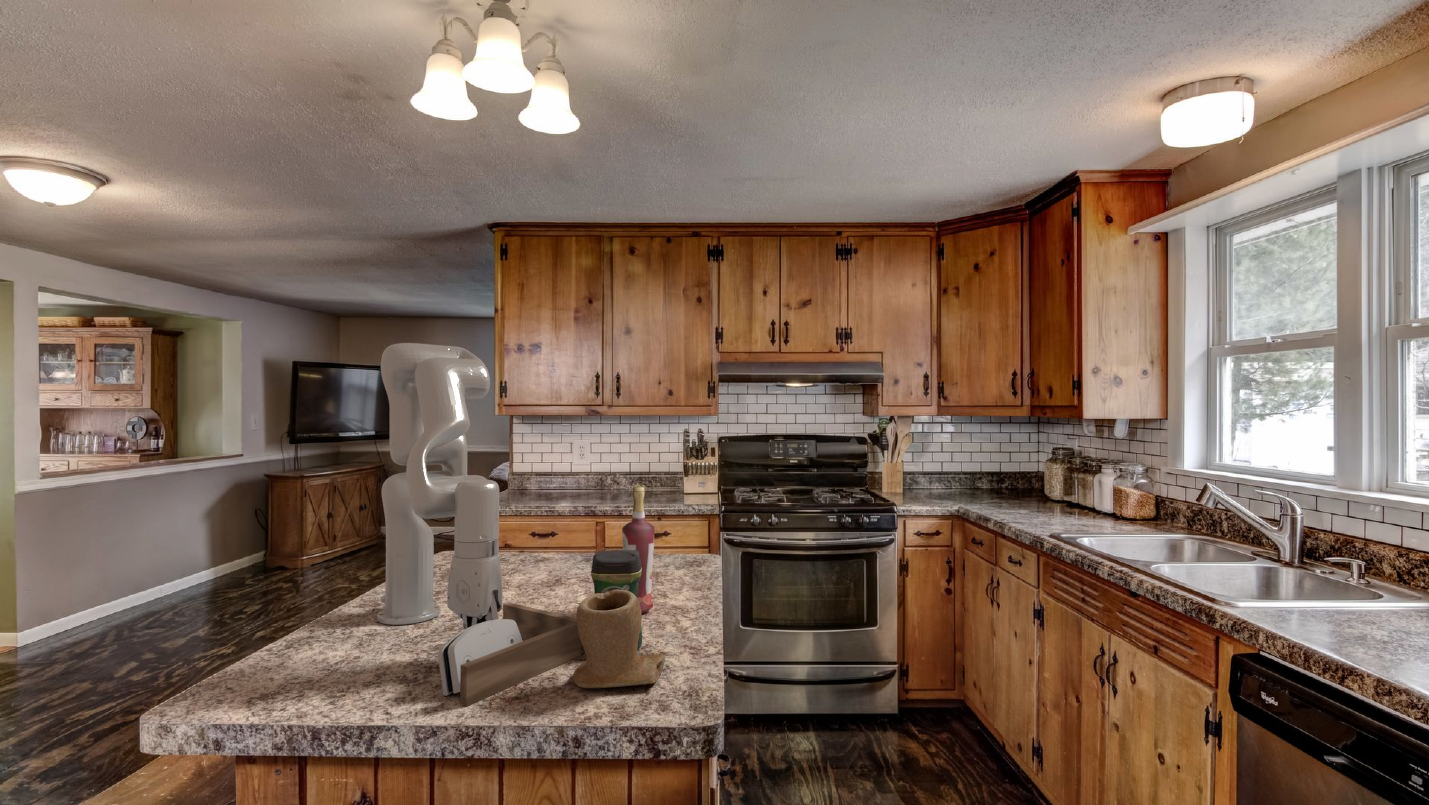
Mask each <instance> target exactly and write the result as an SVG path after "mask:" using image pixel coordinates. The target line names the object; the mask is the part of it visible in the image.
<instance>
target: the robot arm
mask: <svg viewBox="0 0 1429 805" xmlns="http://www.w3.org/2000/svg"><path fill="white" fill-rule="evenodd" d="M380 372H381V373H380V375H381V378H382V382H383V385H384V388H385V391H386V395H387V399H388V404H389V453H390V458H391V460H392V461H393V463H395V465H396V464H397V465H399V466H406V471H405V472H399V473H395V474H393V475H391V476H389V477H388V478H387V479H385V481H384V482H383V484H382V486H381V499H382V506H383V512H384V519H385V521H384V522H385V594H384V595H382V596H381V597H380V600H379V601H380V602H381V603H384V609H382V610H380V611H379V612H378V613H377V615H376V621H378V622H379V623H380V624H384V625H393V626H400V625H402V626H403V625H411V624H417V623H422V622H426V621H429V620H431V619H434V618H436V617H438V616H439V615H440V614H441V611H442V610H441V609H442V608H441V606H440V605H439V604H436V603H434V561H435V560H434V559H435V558H434V556H435V554H434V550H435V549H434V547H435V546H434V539H435V538H434V537H435V536H434V533H433V532H434V531H433V530H432V528H431V527H430V526H429V524H428V523H427V522H426V521H425V520H429V519H430V520H431V519H442V518H450V517H454V534H453V535H454V539H453V540H454V543H453V544H454V545H453V546H454V547H453V548H454V549H453V551H454V552H453V555H452V557H451V561H450V564H449V565H450V566H449V570H448V581H447V595H446V597H447V599H446V606H447V608H448V610H449V611H451V612H453V613H454V614H455V615H457V616H459V617H460V619H461V620H462V628H463V630H465V629H467V628H469V627H471V626H473V625H476V624H479V623H482V622H486V621H490V620H498V619H499V614H498V613H499V612H500V611H501V610H502V609H503V597H504V596H503V575H502V574H503V573H502V566H501V560H500V557H499V555H500V554H499V551H500V540H499V539H500V486H499V484H498V482H496V481H495V480H492V479H487V478H486V477H485V476H482V475H478V474H471V475H470V474H468V442H467V436H466V433H467V432H468V431H469V429H470V427H471V421H470V416H469V412H468V408H467V403H466V400H480V399H483V398H485V397H486V396H487V395H488V393H489V391H490V388H491V377H490V373H489V370H488V367H487V366H486V365H485V363H484V362H483V361H482V360H481V359H480V358H479V357H478V356H476V354H474V353H472V352H471V351H469V350H468V349H466V348H464V347H461V346H456V345H455V346H452V345H441V344H432V343H431V344H429V343H419V342H415V343H413V342H400V343H394V344H391V345H390V344H389V346H387V347H386V348H385V349H384V350H383V352H382V355H381V360H380ZM433 465H436V466H437V465H440V466H441V468H442V470H430V471H429V470H428V469H427V466H433ZM427 470H428V471H427ZM424 519H425V520H424Z"/></svg>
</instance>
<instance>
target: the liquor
mask: <svg viewBox="0 0 1429 805" xmlns="http://www.w3.org/2000/svg"><path fill="white" fill-rule="evenodd" d="M632 498H633V505H632V506H633V507H632V515H631V516H632V517H631V521H630V522H627V523H626V524H625V525H623V527H621V532H622V550H637V551H638V552H639V555H640V561H641V567H642V573H641V577H640V579H639V583H638V595H639V603H640V607H641V614H647V613H648V612H649V611H650V610H651V609H652V608H653V607H654V603H653V600H652V594H653V593H652V589H653V588H652V586H653V566H654V552H655V531H656V530H655V528H656V527H655V526H654V525H653V524H652V523H651V522H648V521H646V515H645V505H644V504H645V503H644V500H645V486H632Z"/></svg>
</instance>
